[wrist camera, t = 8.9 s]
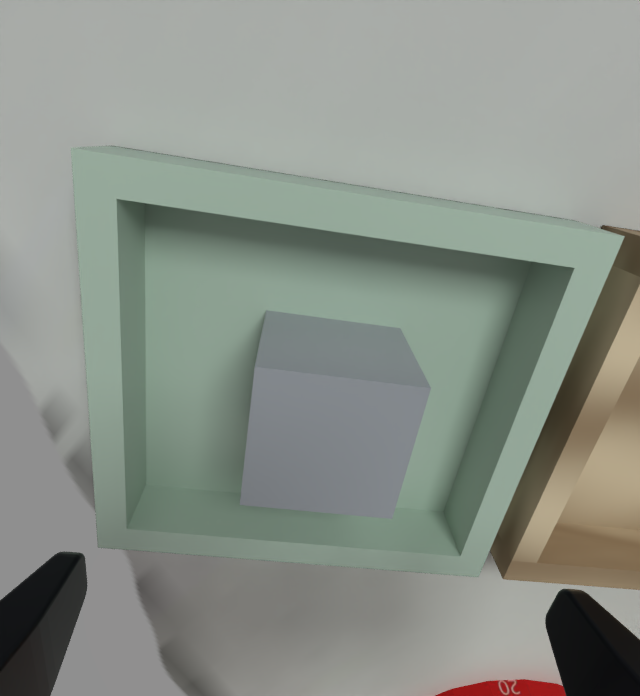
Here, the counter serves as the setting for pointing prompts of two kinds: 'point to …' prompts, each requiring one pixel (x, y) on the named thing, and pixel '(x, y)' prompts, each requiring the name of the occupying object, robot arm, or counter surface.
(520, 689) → the kitchen timer
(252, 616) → the counter surface
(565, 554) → the oak tray
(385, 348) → the grey cube
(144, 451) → the green bin
